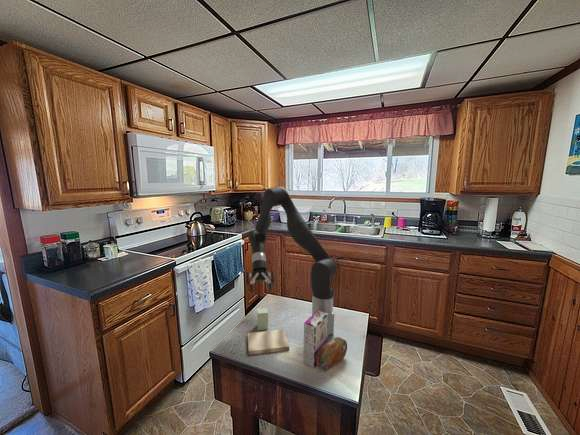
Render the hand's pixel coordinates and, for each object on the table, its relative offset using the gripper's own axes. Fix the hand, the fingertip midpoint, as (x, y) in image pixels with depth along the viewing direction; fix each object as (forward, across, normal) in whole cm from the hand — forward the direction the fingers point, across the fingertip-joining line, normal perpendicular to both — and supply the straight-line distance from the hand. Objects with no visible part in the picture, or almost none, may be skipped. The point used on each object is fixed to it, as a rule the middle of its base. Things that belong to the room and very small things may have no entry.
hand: (260, 292), depth 121 cm
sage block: (+16, 0, +2) cm, 16 cm away
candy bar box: (+33, +18, -14) cm, 40 cm away
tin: (+36, +23, -17) cm, 46 cm away
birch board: (+24, +1, -6) cm, 25 cm away
